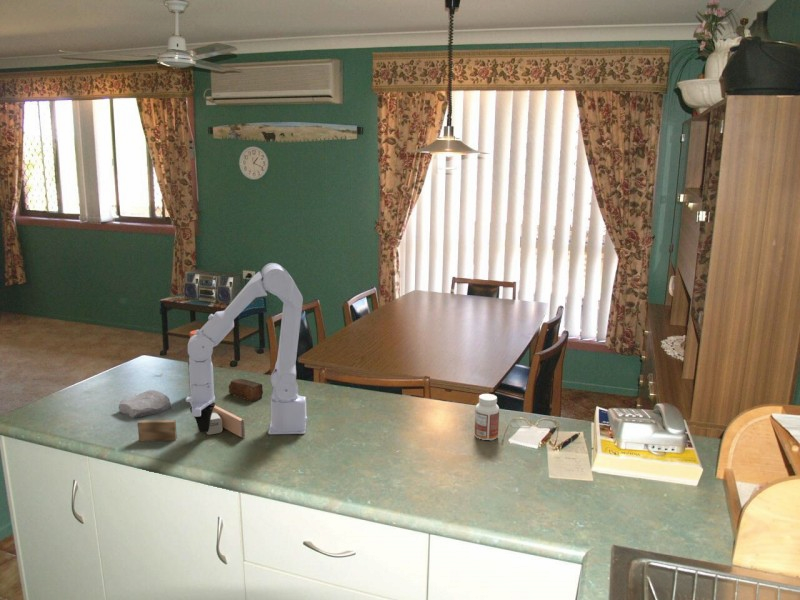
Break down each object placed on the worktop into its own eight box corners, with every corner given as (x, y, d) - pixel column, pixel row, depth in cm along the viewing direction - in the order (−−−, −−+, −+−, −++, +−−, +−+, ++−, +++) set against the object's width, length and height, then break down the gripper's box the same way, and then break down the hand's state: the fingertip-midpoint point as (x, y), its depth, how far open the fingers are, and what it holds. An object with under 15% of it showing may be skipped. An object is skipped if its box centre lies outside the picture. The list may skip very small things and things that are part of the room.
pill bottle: (495, 431, 167) (497, 392, 164) (499, 441, 161) (502, 401, 158) (472, 431, 166) (474, 392, 164) (476, 441, 160) (478, 401, 158)
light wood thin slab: (245, 436, 160) (245, 419, 159) (242, 438, 159) (241, 420, 158) (210, 418, 171) (209, 401, 170) (207, 419, 170) (206, 402, 169)
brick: (263, 398, 186) (262, 383, 185) (253, 402, 183) (253, 387, 182) (238, 390, 192) (237, 376, 191) (228, 394, 189) (228, 380, 188)
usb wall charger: (206, 435, 161) (206, 420, 160) (201, 425, 167) (200, 411, 166) (222, 432, 163) (221, 417, 162) (216, 422, 169) (215, 408, 168)
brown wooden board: (176, 438, 159) (175, 420, 158) (175, 440, 158) (174, 422, 157) (140, 438, 158) (139, 420, 157) (139, 441, 157) (137, 422, 156)
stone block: (174, 413, 179) (155, 398, 184) (175, 399, 177) (155, 384, 182) (136, 428, 169) (116, 412, 175) (136, 413, 168) (116, 397, 173)
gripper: (192, 372, 163) (194, 420, 166) (177, 392, 149) (180, 444, 152) (219, 371, 164) (221, 419, 167) (207, 392, 150) (210, 444, 153)
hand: (204, 431), depth 160 cm, fingers closed
